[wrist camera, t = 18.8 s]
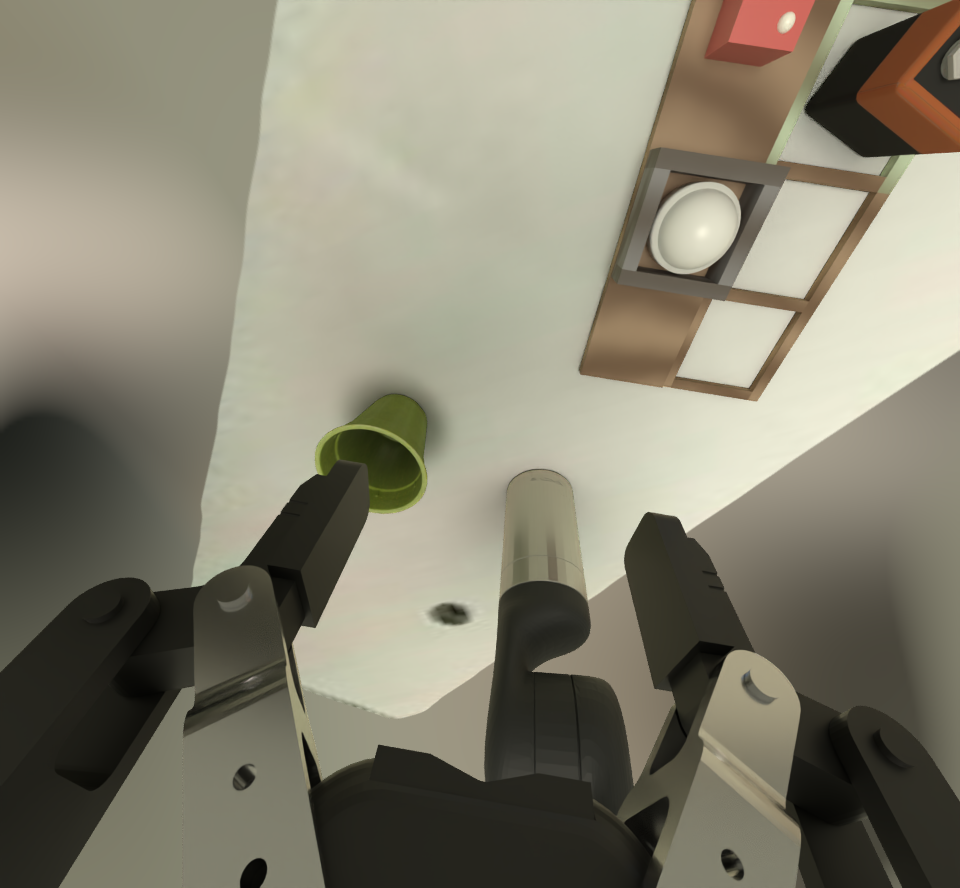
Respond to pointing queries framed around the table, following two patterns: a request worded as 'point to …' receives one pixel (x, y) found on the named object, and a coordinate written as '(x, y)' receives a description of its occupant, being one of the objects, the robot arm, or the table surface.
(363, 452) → the plant pot
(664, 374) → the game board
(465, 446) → the table surface
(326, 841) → the robot arm
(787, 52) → the die
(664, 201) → the dome
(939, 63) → the battery
